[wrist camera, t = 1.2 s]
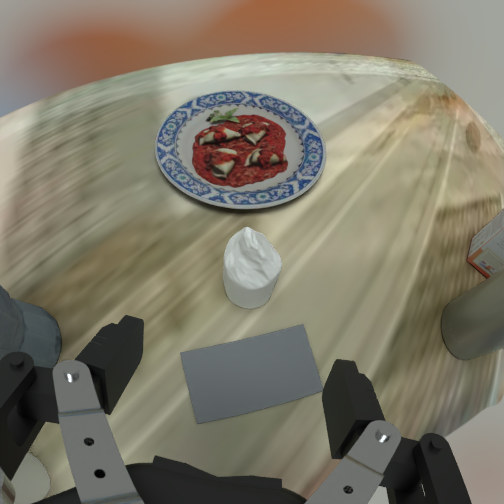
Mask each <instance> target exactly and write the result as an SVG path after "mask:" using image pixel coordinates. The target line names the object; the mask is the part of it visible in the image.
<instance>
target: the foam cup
mask: <svg viewBox="0 0 504 504" xmlns="http://www.w3.org/2000/svg"><path fill="white" fill-rule="evenodd" d="M11 483H12V484H13V486H14V488H15V492H16V497H15V501H14V504H31V503H34V502H37V501H40V500H41V499H43V498H44V497H45V496H46V495H47V494H48V492H49V490H50V478H49V476H48V473H47V471H46V468H45V467H44V466H43V464H42V463H41V462H40V461H39V460H38V458H36V457H34V456H33V455H31V454H30V453H27V454H26V455H25V457H24V459H23V461H22V462H21V464H20V466H19V468H18V470H17V471H16V473H15V475H14V477H13V479H12V481H11Z"/></svg>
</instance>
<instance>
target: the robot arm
mask: <svg viewBox="0 0 504 504" xmlns="http://www.w3.org/2000/svg"><path fill="white" fill-rule="evenodd" d="M441 328H442V335H443V339H444V341H445V344H446V346H447V348H448V349H449V351H450V352H451V353H452V354H453V355H454V356H455V357H457V358H459V359H462V360H469V359H473V358H476V357H479V356H482V355H485V354H488V353H491V352H494V351H497V350H500V349H502V348H504V268H503V269H501V270H500V271H498V272H497V273H495V274H494V275H492V276H491V277H489V278H488V279H486V280H485V281H483V282H482V283H480V284H478V285H477V286H475V287H474V288H472V289H470V290H469V291H467V292H465V293H464V294H462V295H460V296H459V297H457V298H455V299H454V300H452V301H451V302H450V303H448V305H447V306H446V308H445V310H444V312H443V316H442V323H441ZM143 332H144V322H143V319H139V318H136V317H132V316H128V315H125V316H124V317H123V318H122V319H121V321H120V322H119V323H118V324H114V323H111V324H109V325H107V326H105V327H102V328H101V330H100V331H99V332H98V333H97V334H96V336H94V338H93V339H92V340H91V342H89V343H88V345H87V346H86V347H85V348H84V349H83V350H82V352H81V353H80V354H79V355H78V356H77V357H76V359H75V360H66V361H62V362H60V363H58V364H57V365H56V366H55V367H54V368H46V367H40V366H35V365H34V361H33V359H32V357H31V356H30V355H29V354H27V353H24V352H19V351H17V352H11V353H9V354H7V355H5V356H4V357H3V358H2V359H1V360H0V504H14V501H15V497H16V492H15V488H14V486H13V484H12V483H11V481H12V479H13V477H14V475H15V473H16V471H17V470H18V468H19V466H20V464H21V462H22V461H23V459H24V457H25V455H26V454H27V452H28V450H29V449H30V447H31V445H32V443H33V442H34V440H35V438H36V437H37V435H38V433H39V432H40V430H41V428H42V427H43V425H44V423H45V422H51V423H58V424H60V428H61V432H62V437H63V441H64V445H65V449H66V453H67V457H68V461H69V465H70V468H71V472H72V475H73V478H74V482H75V485H76V487H74V488H71V489H69V490H66V491H64V492H61V493H59V494H56V495H53V496H51V497H48V498H45V499H43V500H40V501H37V502H34V503H31V504H367V503H368V502H369V501H370V499H371V497H372V496H373V494H374V493H375V491H376V489H377V487H378V486H383V487H386V488H387V494H388V499H389V504H472V503H471V500H470V497H469V495H468V492H467V489H466V486H465V484H464V481H463V478H462V476H461V473H460V470H459V468H458V465H457V463H456V460H455V458H454V455H453V453H452V450H451V448H450V446H449V443H448V442H447V441H446V440H445V439H444V438H443V437H442V436H440V435H438V434H434V433H428V434H425V435H423V436H422V438H421V439H420V440H419V441H415V440H411V439H407V438H403V437H401V434H400V432H399V430H398V429H397V428H396V427H395V426H394V425H393V424H391V423H389V422H386V421H385V418H384V416H383V413H382V410H381V407H380V405H379V402H378V399H376V398H377V397H376V394H375V392H374V389H373V386H372V383H371V381H370V380H369V379H368V378H367V377H366V376H365V375H364V374H361V373H359V372H358V369H357V366H356V363H355V362H354V361H349V360H341V359H337V360H336V361H335V362H334V364H333V367H332V369H331V372H330V374H329V376H328V379H327V381H326V383H325V386H324V389H323V393H322V402H323V408H324V413H325V419H326V425H327V431H328V438H329V444H330V450H331V457H332V459H342V460H341V462H340V463H339V464H338V465H337V467H336V468H335V469H334V470H333V471H332V473H331V474H330V475H329V476H328V478H327V479H326V480H325V481H324V482H323V483H322V485H321V486H320V487H319V488H318V489H317V490H316V491H315V493H314V494H313V495H312V496H311V497H310V498H309V499H308V500H306V499H305V498H303V497H302V496H300V495H299V494H297V493H295V492H293V491H291V490H288V489H286V488H282V479H277V478H267V477H258V476H232V477H217V476H214V475H211V474H209V473H206V472H204V471H202V470H199V469H197V468H195V467H193V466H190V465H188V464H186V463H182V462H178V461H174V460H170V459H166V458H163V457H159V456H155V457H154V460H153V463H135V464H129V465H124V462H123V460H122V458H121V455H120V453H119V450H118V448H117V445H116V443H115V440H114V437H113V435H112V432H111V429H110V427H109V424H108V421H107V418H106V415H105V414H108V415H111V413H112V411H113V409H114V407H115V406H116V404H117V402H118V400H119V398H120V397H121V395H122V393H123V391H124V390H125V388H126V386H127V384H128V383H129V381H130V379H131V377H132V376H133V374H134V372H135V370H136V369H137V367H138V365H139V363H140V361H141V358H142V354H143ZM422 485H423V488H424V492H425V496H424V492H423V488H422Z"/></svg>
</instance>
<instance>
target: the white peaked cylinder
mask: <svg viewBox="0 0 504 504" xmlns="http://www.w3.org/2000/svg"><path fill="white" fill-rule="evenodd" d="M281 268H282V262H281V258H280V255H279V254H278V253H277V251H276V250H275V249H274V247H273V246H272V245H271V243H270V242H269V241H268V240H267V239H266V237H265V236H264V234H262V233H260V232H257V231H254V230H253V229H251V228H249V227H245V228H243V229H242V230H241V231H239V232H237V233H236V234H234V235H233V237H232V238H230V240H229V242H228V244H227V247H226V249H225V253H224V268H223V282H224V286H225V291H226V294H227V296H228V298H229V299H230V300H231V302H233V303H234V304H236V305H237V306H239V307H242V308H247V309H254V308H258V307H260V306H263V305H264V304H265V303H266V302H267V301H268V300H269V298H270V296H271V294H272V291H273V288H274V286H275V284H276V282H277V279H278V277H279V274H280V272H281Z"/></svg>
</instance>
